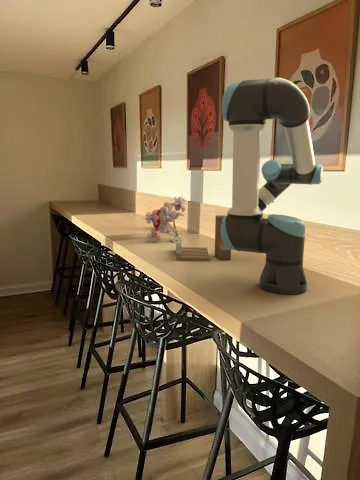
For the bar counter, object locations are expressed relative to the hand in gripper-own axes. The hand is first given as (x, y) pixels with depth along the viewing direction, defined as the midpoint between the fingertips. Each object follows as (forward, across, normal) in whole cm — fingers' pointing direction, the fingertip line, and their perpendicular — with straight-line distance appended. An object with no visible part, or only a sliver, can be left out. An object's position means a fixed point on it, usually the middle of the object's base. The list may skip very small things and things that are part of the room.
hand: (224, 234), depth 163 cm
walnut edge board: (+17, +3, +3) cm, 17 cm away
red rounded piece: (+31, +70, +16) cm, 78 cm away
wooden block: (+8, -1, -7) cm, 10 cm away
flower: (+28, +33, +13) cm, 45 cm away
